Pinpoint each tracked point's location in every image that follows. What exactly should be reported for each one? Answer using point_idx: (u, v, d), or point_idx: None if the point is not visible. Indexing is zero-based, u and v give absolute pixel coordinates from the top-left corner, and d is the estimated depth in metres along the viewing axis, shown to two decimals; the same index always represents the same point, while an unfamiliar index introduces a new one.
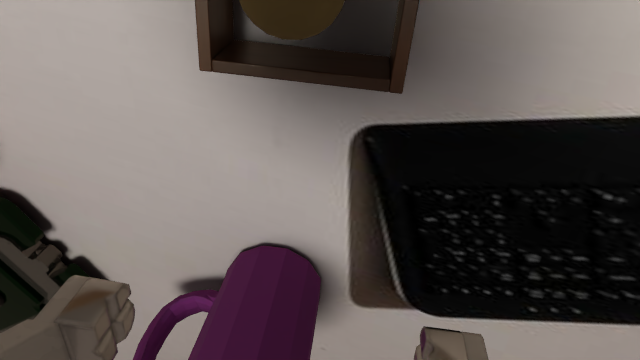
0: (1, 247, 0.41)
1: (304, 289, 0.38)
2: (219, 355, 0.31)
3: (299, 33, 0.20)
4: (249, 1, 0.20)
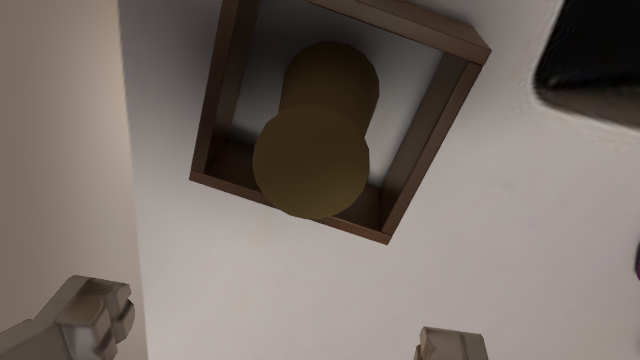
0: None
1: None
2: None
3: (357, 179, 0.19)
4: (313, 214, 0.19)
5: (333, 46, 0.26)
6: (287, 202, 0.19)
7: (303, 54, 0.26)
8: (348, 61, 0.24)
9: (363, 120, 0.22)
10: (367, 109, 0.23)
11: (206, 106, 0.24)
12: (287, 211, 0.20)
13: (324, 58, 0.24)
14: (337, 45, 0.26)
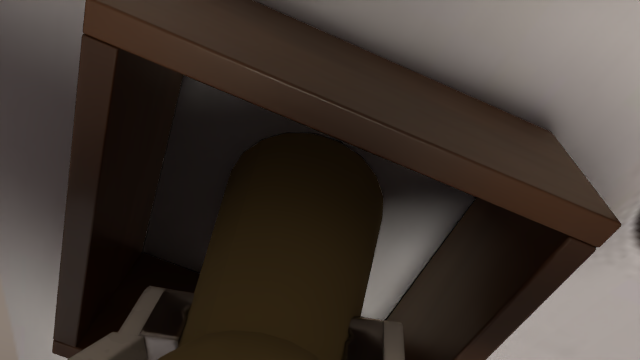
0: None
1: None
2: None
3: None
4: None
5: (310, 145, 0.15)
6: None
7: (258, 154, 0.15)
8: (334, 182, 0.14)
9: None
10: (363, 282, 0.13)
11: (67, 257, 0.13)
12: None
13: (291, 174, 0.14)
14: (317, 143, 0.15)
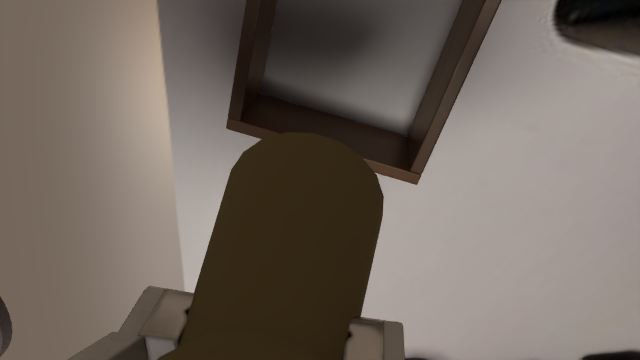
0: None
1: None
2: None
3: None
4: None
5: (310, 145, 0.15)
6: None
7: (258, 154, 0.15)
8: (334, 182, 0.14)
9: None
10: (363, 281, 0.13)
11: (241, 53, 0.25)
12: None
13: (291, 173, 0.14)
14: (317, 142, 0.15)
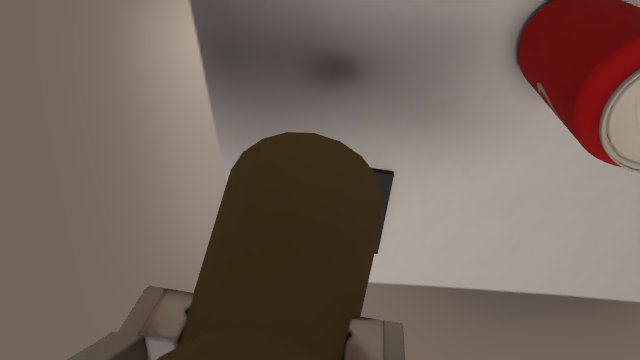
0: None
1: None
2: None
3: None
4: None
5: (310, 145, 0.15)
6: None
7: (258, 154, 0.15)
8: (334, 181, 0.14)
9: None
10: (363, 281, 0.13)
11: None
12: None
13: (291, 173, 0.14)
14: (317, 143, 0.15)
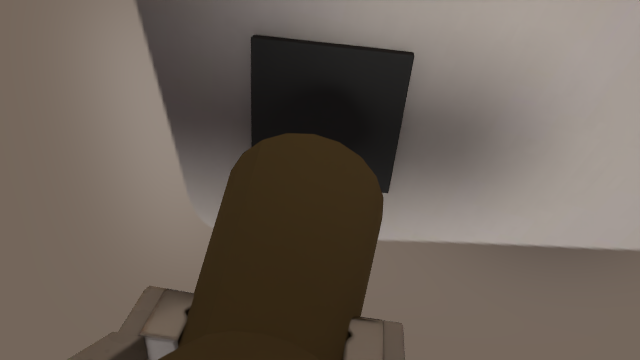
0: None
1: None
2: None
3: None
4: None
5: (310, 145, 0.15)
6: None
7: (258, 155, 0.15)
8: (334, 183, 0.14)
9: None
10: (363, 282, 0.13)
11: None
12: None
13: (291, 174, 0.14)
14: (317, 144, 0.15)
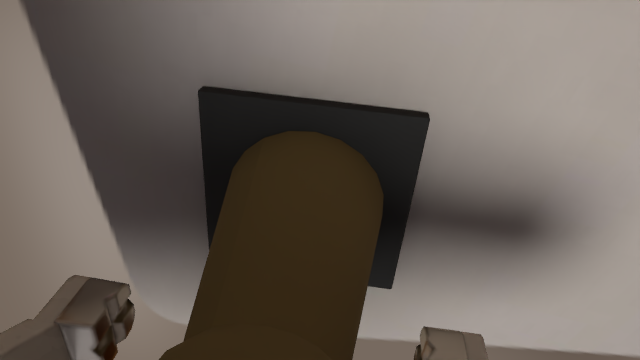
0: None
1: None
2: None
3: None
4: None
5: (312, 143, 0.15)
6: None
7: (260, 152, 0.15)
8: (336, 180, 0.14)
9: (357, 313, 0.12)
10: (364, 277, 0.13)
11: None
12: None
13: (293, 171, 0.14)
14: (318, 141, 0.15)
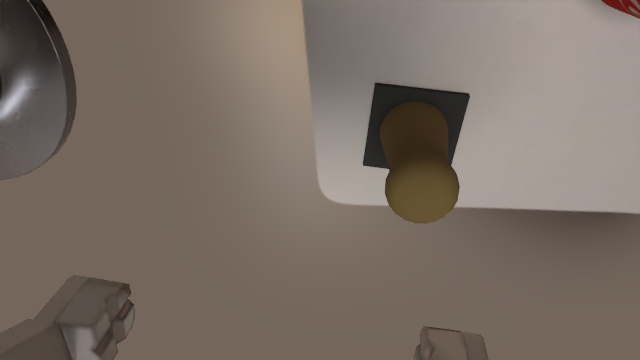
0: None
1: None
2: None
3: (453, 201, 0.31)
4: (422, 220, 0.32)
5: (422, 105, 0.38)
6: (408, 212, 0.31)
7: (401, 109, 0.38)
8: (434, 118, 0.37)
9: (447, 160, 0.34)
10: (447, 152, 0.36)
11: None
12: (405, 217, 0.32)
13: (419, 115, 0.36)
14: (424, 105, 0.38)
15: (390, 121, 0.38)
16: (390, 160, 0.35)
